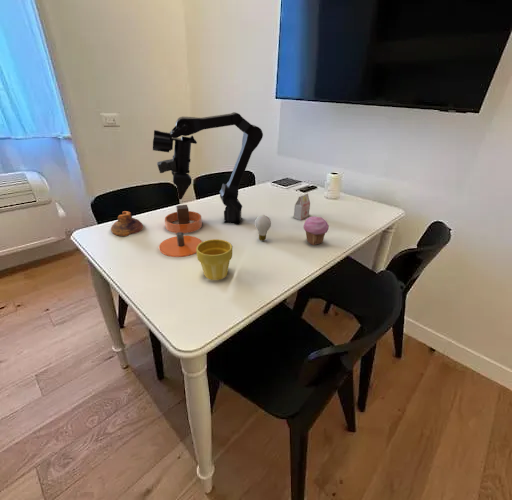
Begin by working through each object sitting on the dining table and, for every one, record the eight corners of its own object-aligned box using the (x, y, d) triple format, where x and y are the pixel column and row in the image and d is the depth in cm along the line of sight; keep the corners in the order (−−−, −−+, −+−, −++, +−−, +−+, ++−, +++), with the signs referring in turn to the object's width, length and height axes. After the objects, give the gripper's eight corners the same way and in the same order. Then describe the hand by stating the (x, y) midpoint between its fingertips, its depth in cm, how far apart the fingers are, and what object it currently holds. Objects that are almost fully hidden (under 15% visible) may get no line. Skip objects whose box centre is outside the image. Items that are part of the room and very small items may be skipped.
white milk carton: (293, 217, 133) (295, 196, 128) (301, 213, 137) (304, 192, 133) (300, 220, 131) (302, 198, 126) (308, 215, 135) (311, 194, 131)
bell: (130, 238, 112) (126, 220, 108) (104, 233, 115) (100, 215, 112) (150, 226, 121) (147, 209, 118) (126, 222, 125) (122, 205, 121)
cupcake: (311, 249, 107) (314, 224, 102) (297, 239, 114) (299, 215, 109) (330, 244, 111) (334, 219, 106) (316, 235, 118) (319, 211, 113)
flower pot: (199, 266, 96) (197, 238, 91) (232, 265, 97) (232, 238, 92) (197, 285, 87) (194, 255, 82) (233, 284, 88) (232, 255, 83)
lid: (208, 240, 112) (207, 226, 109) (193, 260, 99) (192, 245, 96) (170, 236, 114) (168, 222, 111) (151, 255, 101) (148, 240, 99)
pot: (206, 221, 127) (206, 212, 125) (194, 236, 115) (193, 226, 113) (175, 218, 129) (174, 209, 127) (159, 232, 117) (158, 222, 115)
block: (188, 223, 124) (186, 204, 120) (190, 227, 121) (188, 208, 117) (178, 224, 123) (176, 205, 119) (179, 228, 120) (177, 209, 116)
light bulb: (272, 238, 114) (273, 214, 110) (267, 245, 110) (268, 219, 105) (257, 236, 116) (258, 211, 111) (252, 242, 111) (252, 217, 106)
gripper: (158, 146, 115) (157, 186, 122) (159, 156, 99) (157, 201, 106) (188, 150, 119) (185, 188, 126) (193, 161, 103) (189, 204, 110)
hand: (179, 195), depth 117 cm, fingers open, 9 cm apart
